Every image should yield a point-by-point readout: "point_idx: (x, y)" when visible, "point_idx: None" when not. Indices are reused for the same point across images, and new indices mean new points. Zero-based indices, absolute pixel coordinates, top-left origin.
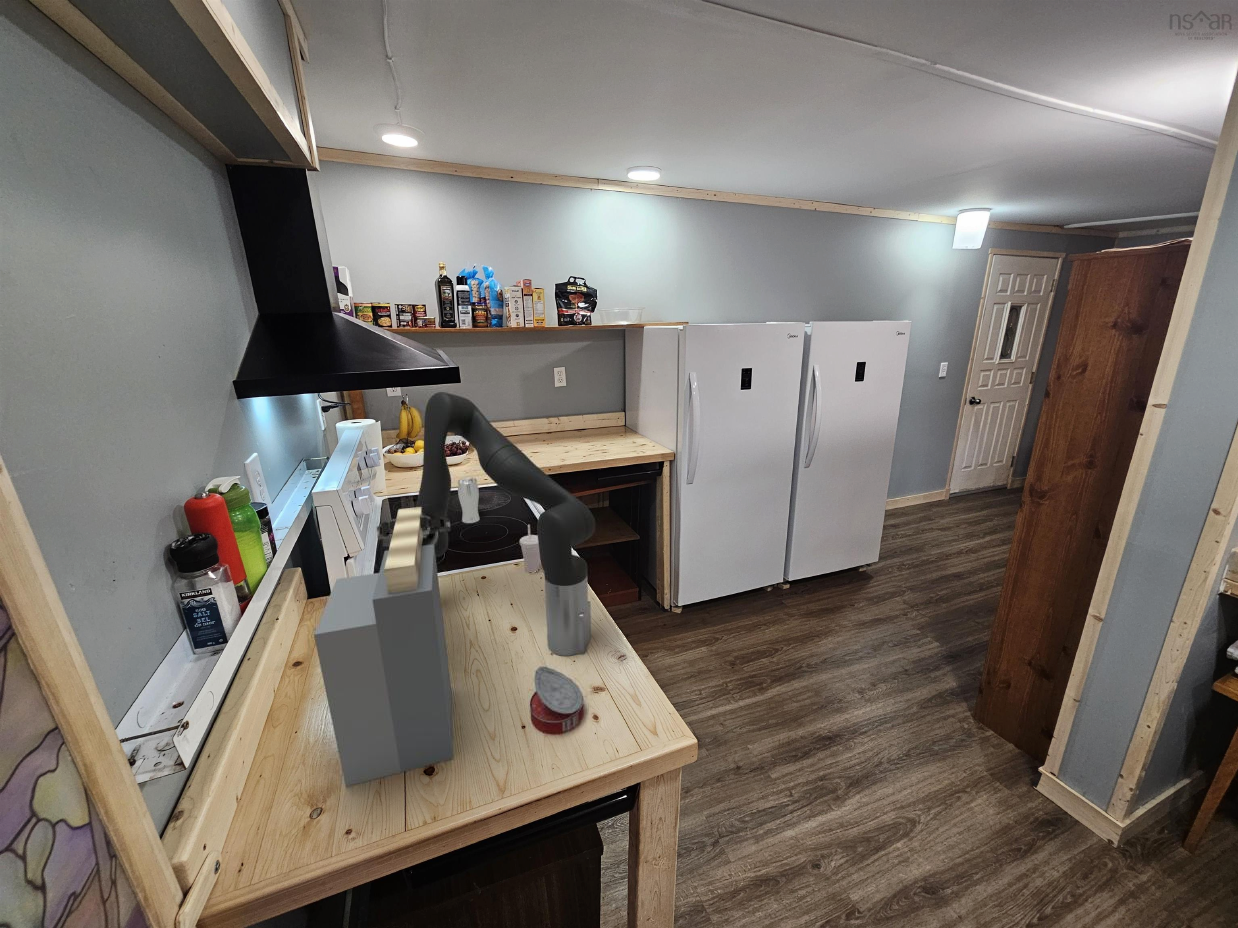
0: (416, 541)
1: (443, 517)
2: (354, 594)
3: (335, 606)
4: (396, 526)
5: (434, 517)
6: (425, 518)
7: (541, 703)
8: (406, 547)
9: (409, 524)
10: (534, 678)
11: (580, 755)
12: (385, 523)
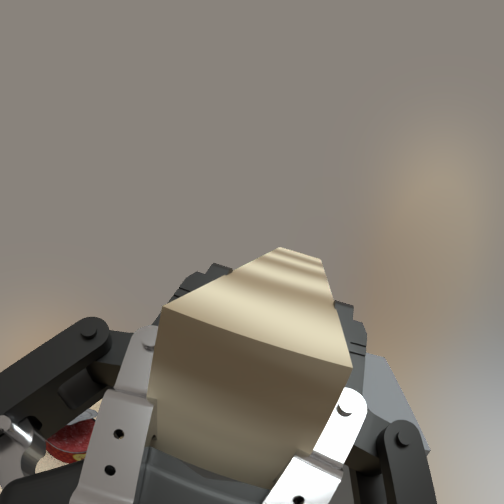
0: (269, 253)
1: (33, 350)
2: (367, 394)
3: (385, 384)
4: (323, 287)
5: (108, 329)
6: (202, 277)
7: (83, 440)
8: (290, 256)
9: (279, 275)
10: (85, 419)
11: (98, 407)
12: (396, 422)
